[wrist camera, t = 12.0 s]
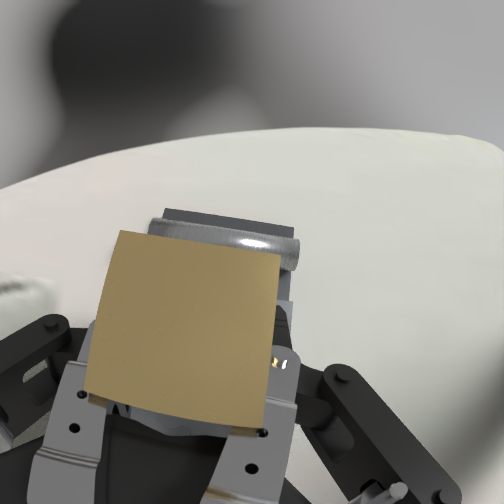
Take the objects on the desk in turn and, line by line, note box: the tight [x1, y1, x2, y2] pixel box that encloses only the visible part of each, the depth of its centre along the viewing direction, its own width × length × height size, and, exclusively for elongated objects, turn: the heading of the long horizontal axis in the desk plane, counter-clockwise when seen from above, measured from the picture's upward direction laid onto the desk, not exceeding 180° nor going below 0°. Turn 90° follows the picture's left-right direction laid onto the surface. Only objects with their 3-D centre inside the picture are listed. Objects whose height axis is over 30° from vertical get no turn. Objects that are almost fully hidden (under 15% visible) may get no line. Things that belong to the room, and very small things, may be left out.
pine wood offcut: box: [84, 230, 281, 428], centre depth 11 cm, size 4×4×12 cm
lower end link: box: [148, 208, 300, 301], centre depth 16 cm, size 9×13×3 cm
